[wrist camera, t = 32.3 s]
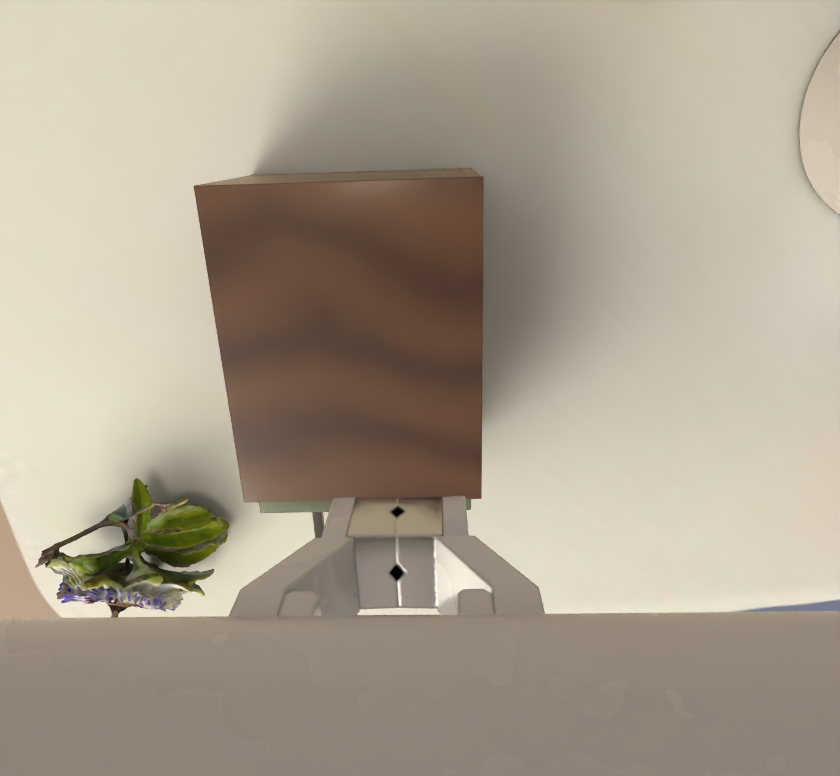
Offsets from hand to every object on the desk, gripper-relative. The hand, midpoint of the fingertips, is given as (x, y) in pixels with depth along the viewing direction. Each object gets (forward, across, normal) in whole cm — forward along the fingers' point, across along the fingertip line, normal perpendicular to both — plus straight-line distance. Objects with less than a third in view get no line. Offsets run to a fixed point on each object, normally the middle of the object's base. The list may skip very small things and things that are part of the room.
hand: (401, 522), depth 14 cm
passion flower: (+31, +23, +21) cm, 44 cm away
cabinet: (+31, +4, +3) cm, 31 cm away
